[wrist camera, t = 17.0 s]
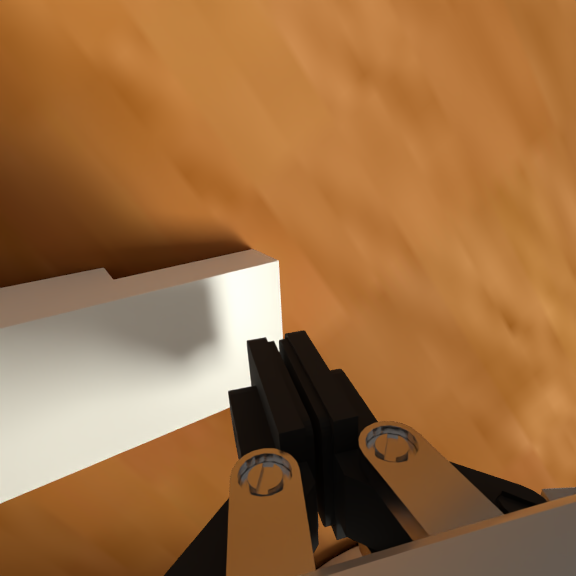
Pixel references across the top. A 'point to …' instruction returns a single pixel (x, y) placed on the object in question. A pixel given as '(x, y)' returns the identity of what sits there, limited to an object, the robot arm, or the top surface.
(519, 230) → the top surface
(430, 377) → the top surface
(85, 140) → the top surface
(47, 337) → the domino
